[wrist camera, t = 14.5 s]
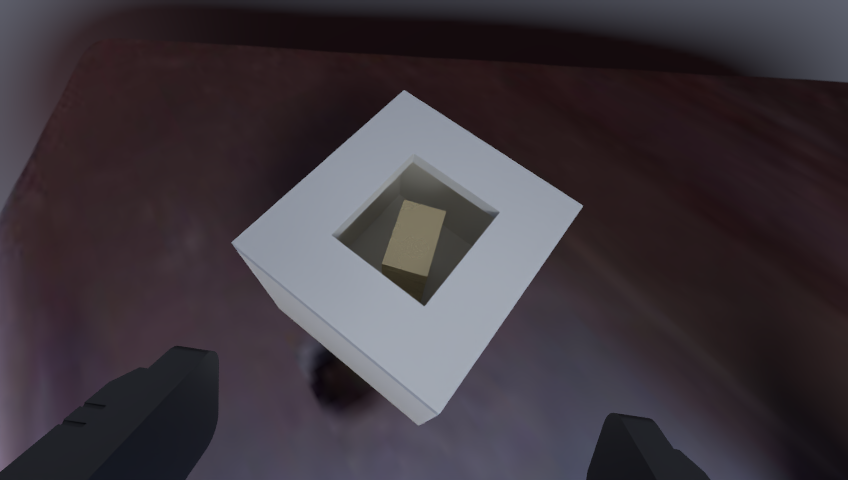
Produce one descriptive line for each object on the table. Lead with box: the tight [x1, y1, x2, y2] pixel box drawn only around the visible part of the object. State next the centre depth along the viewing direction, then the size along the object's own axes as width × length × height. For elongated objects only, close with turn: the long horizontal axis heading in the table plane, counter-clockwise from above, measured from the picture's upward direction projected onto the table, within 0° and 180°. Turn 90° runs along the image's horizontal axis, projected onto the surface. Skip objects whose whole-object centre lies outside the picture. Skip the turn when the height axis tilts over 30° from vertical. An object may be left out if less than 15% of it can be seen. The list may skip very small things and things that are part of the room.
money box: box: [231, 90, 583, 426], centre depth 32 cm, size 15×16×13 cm
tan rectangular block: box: [382, 200, 446, 303], centre depth 32 cm, size 3×5×10 cm, turn 165°
